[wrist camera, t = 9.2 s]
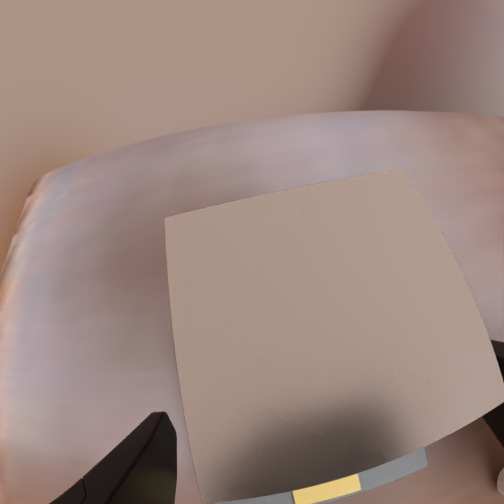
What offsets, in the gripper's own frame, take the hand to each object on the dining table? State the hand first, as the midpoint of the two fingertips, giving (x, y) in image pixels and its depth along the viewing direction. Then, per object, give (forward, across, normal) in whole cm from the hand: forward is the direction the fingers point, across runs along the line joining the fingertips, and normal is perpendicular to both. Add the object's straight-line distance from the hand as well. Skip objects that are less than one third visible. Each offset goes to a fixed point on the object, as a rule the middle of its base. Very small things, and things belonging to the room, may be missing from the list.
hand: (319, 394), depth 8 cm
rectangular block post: (+6, 0, +5) cm, 8 cm away
